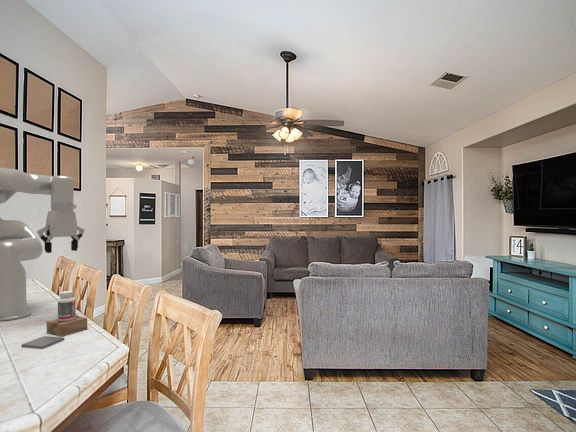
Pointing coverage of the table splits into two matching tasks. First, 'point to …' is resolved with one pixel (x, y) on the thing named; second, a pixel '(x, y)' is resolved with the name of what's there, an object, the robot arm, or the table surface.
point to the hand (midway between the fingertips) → (61, 251)
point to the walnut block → (66, 326)
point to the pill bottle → (66, 306)
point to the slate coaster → (43, 342)
